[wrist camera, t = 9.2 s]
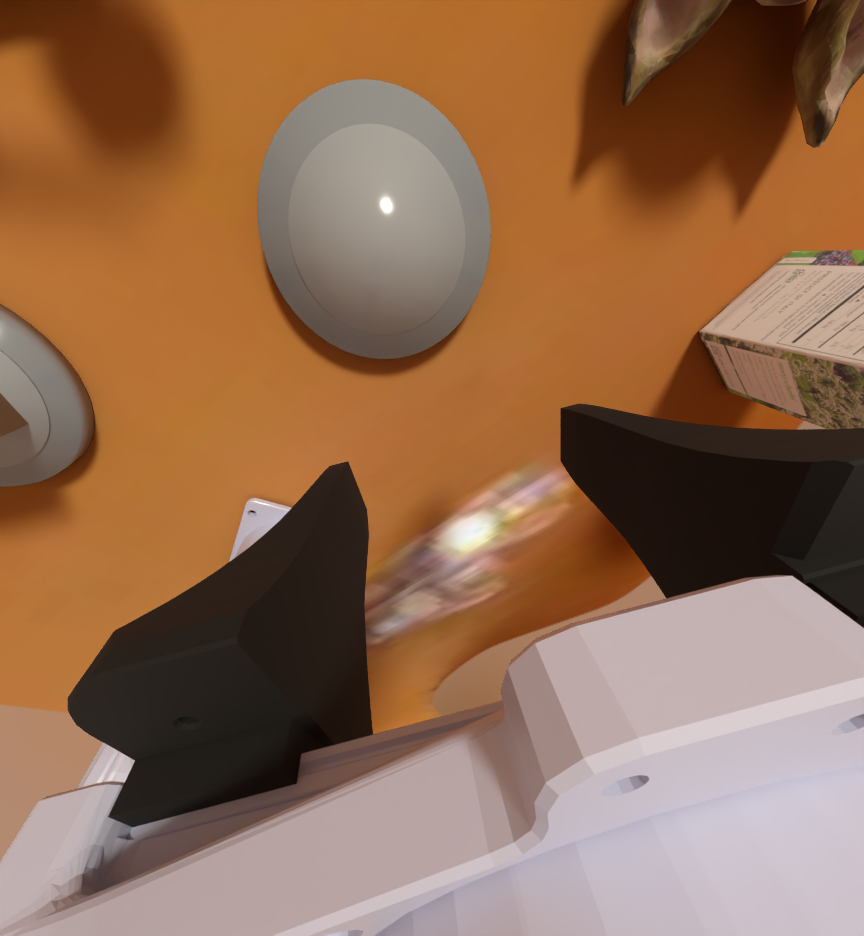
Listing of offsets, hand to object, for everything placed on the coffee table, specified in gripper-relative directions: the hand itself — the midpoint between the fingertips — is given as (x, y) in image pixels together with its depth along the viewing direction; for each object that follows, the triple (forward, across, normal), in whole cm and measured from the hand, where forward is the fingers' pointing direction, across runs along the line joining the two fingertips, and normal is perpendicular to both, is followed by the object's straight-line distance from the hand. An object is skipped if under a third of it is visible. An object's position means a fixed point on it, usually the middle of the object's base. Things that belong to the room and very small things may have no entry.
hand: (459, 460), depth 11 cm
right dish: (+9, +1, -7) cm, 12 cm away
